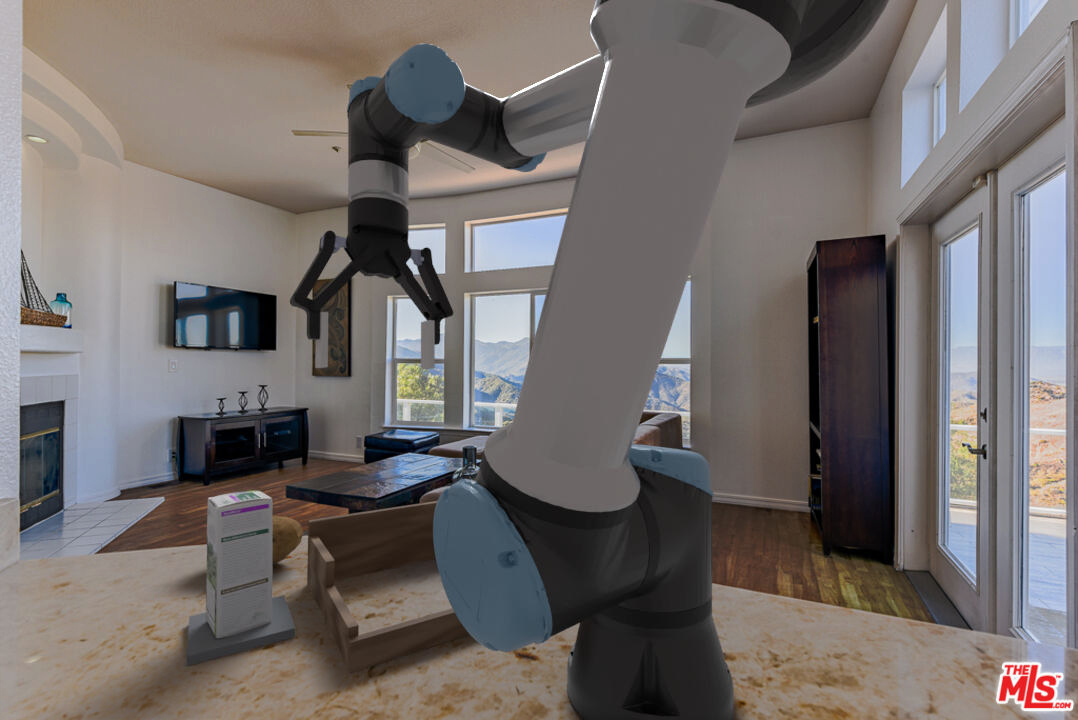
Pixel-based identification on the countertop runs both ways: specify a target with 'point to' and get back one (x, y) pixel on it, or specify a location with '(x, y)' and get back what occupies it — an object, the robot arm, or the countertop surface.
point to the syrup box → (239, 562)
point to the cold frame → (366, 549)
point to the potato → (283, 537)
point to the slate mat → (237, 635)
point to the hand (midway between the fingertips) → (378, 368)
